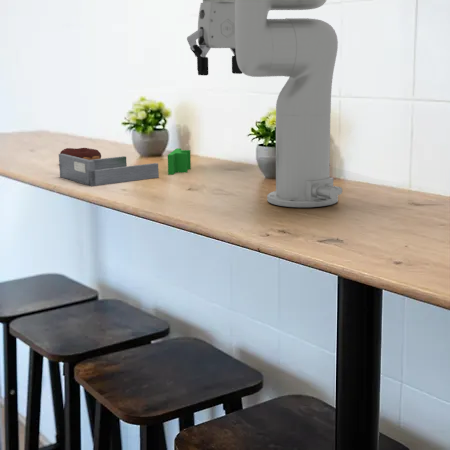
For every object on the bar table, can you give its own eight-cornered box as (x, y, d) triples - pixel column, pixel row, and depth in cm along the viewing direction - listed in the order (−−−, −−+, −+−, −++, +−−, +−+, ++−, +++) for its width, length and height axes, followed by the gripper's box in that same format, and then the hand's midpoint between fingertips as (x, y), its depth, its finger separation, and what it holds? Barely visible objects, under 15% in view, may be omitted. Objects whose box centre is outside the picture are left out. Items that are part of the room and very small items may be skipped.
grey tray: (158, 177, 166) (157, 154, 165) (90, 186, 157) (88, 161, 156) (124, 169, 178) (123, 147, 177) (59, 176, 169) (57, 154, 168)
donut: (105, 166, 185) (104, 149, 184) (64, 169, 181) (63, 152, 180) (96, 160, 194) (95, 144, 193) (57, 163, 190) (56, 147, 189)
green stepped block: (184, 175, 170) (184, 155, 169) (168, 175, 170) (167, 155, 169) (192, 167, 181) (192, 147, 179) (177, 167, 181) (176, 147, 180)
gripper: (197, -6, 165) (198, 76, 169) (260, -4, 175) (260, 73, 179) (177, -4, 171) (179, 75, 175) (239, -3, 181) (240, 72, 185)
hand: (220, 74), depth 177 cm, fingers open, 9 cm apart
